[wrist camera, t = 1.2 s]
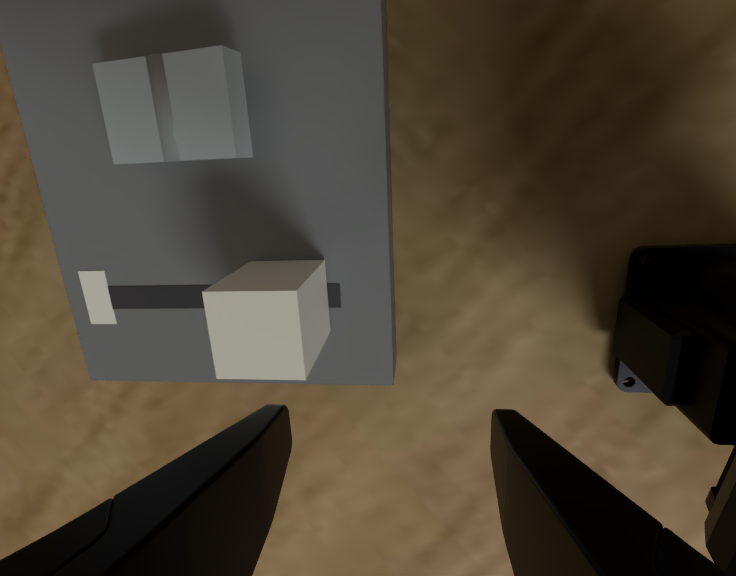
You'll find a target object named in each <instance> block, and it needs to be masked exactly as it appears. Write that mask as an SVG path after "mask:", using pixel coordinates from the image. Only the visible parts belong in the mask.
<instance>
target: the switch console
mask: <svg viewBox="0 0 736 576" xmlns="http://www.w3.org/2000/svg"><path fill="white" fill-rule="evenodd" d="M0 43H1V47H2V51H3V55H4V58H5V62H6V66H7V70H8V73H9V77H10V81H11V85H12V88H13V92H14V96H15V99H16V103H17V107H18V111H19V114H20V118H21V122H22V126H23V129H24V133H25V137H26V141H27V144H28V148H29V152H30V156H31V159H32V163H33V167H34V171H35V174H36V178H37V182H38V186H39V189H40V193H41V197H42V201H43V204H44V208H45V212H46V216H47V219H48V223H49V227H50V231H51V234H52V238H53V242H54V245H55V249H56V253H57V257H58V260H59V264H60V268H61V272H62V275H63V279H64V283H65V287H66V290H67V294H68V298H69V302H70V305H71V309H72V313H73V317H74V320H75V324H76V328H77V332H78V335H79V339H80V343H81V347H82V350H83V354H84V358H85V362H86V365H87V369H88V373H89V376H90V380H111V381H170V382H230V383H289V384H349V385H394V376H395V367H396V328H395V295H394V261H393V228H392V194H391V161H390V127H389V94H388V60H387V27H386V0H0ZM220 45H222V46H225V47H228V48H230V49H233V50H235V51H238V52H241V61H242V69H243V77H244V86H245V94H246V102H247V110H248V119H249V127H250V135H251V144H252V152H253V157H249V158H230V159H212V160H195V161H176V162H157V163H139V164H113V159H112V154H111V150H110V145H109V140H108V136H107V131H106V126H105V121H104V117H103V112H102V107H101V103H100V98H99V93H98V89H97V84H96V79H95V75H94V70H93V65H92V64H95V63H102V62H109V61H116V60H123V59H130V58H136V57H143V56H146V55H150V54H164V53H171V52H178V51H185V50H192V49H199V48H206V47H213V46H220ZM287 260H325V268H326V280H327V293H328V306H329V319H330V333H329V335H328V337H327V339H326V341H325V343H324V345H323V347H322V349H321V351H320V353H319V355H318V357H317V359H316V361H315V363H314V365H313V367H312V369H311V371H310V373H309V375H308V377H307V379H306V380H254V379H217V378H216V373H215V367H214V361H213V355H212V349H211V343H210V337H209V331H208V325H207V319H206V313H205V308H204V302H203V296H202V291H204V290H205V289H207V288H209V287H210V286H212V285H213V284H215V283H217V282H218V281H220V280H221V279H223V278H225V277H226V276H228V275H230V274H231V273H233V272H234V271H236V270H238V269H239V268H241V267H242V266H244V265H246V264H247V263H249V262H250V261H287Z"/></svg>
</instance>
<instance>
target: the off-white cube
mask: <svg viewBox="0 0 736 576" xmlns="http://www.w3.org/2000/svg"><path fill="white" fill-rule="evenodd" d="M202 296H203V302H204V308H205V313H206V319H207V325H208V331H209V337H210V343H211V349H212V355H213V361H214V367H215V373H216V378H217V379H254V380H306V379H307V377H308V375H309V373H310V371H311V369H312V367H313V365H314V363H315V361H316V359H317V357H318V355H319V353H320V351H321V349H322V347H323V345H324V343H325V341H326V339H327V337H328V335H329V333H330V319H329V306H328V293H327V280H326V268H325V260H287V261H250V262H249V263H247V264H246V265H244V266H242V267H241V268H239V269H238V270H236V271H234V272H233V273H231V274H230V275H228V276H226V277H225V278H223V279H221V280H220V281H218V282H217V283H215V284H213V285H212V286H210V287H209V288H207V289H205V290H204V291H202Z"/></svg>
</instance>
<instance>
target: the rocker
mask: <svg viewBox="0 0 736 576" xmlns="http://www.w3.org/2000/svg"><path fill="white" fill-rule="evenodd" d="M92 65H93V70H94V75H95V79H96V84H97V89H98V93H99V98H100V103H101V107H102V112H103V117H104V121H105V126H106V131H107V136H108V140H109V145H110V150H111V154H112V159H113V164H139V163H157V162H176V161H195V160H212V159H230V158H249V157H253V152H252V144H251V135H250V127H249V119H248V110H247V102H246V94H245V86H244V77H243V69H242V61H241V52H238V51H235V50H233V49H230V48H228V47H225V46H222V45H220V46H213V47H206V48H199V49H192V50H185V51H178V52H171V53H164V54H150V55H146V56H143V57H136V58H130V59H123V60H116V61H109V62H102V63H95V64H92Z"/></svg>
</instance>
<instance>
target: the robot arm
mask: <svg viewBox="0 0 736 576" xmlns="http://www.w3.org/2000/svg"><path fill="white" fill-rule="evenodd" d="M646 254H649V260H648V261H647V262H646V263H644V264H641V259H642V257H643V256H644V255H646ZM612 351H613V353H614V354H615V355H616V362H615V369H614V376H613V379H614V382H615V384H616V385H617V386H618V388H619V389H620V390H622V391H624V392H646V393H654V394H655V395H656V396H657V397H658V398H659V399H660V400H661V401H662V402H663V403H664V404H665V405H667V406H676V407H677V408H678V409H679V410H680V411H681V412H682V413H683V414H684V415H685V416H686V417H687V418H688V419H689V420H690V421H691V422H692V423H693V424H694V425H695V426H696V427H697V428H698V429H699V430H700V431H701V432H702V433H703V434H704V435H705V436H707V437H708V438H709V439H710V440H711V441H712V442H713V443H714V444H718V445H735V446H734V448H733V450H732V453H731V455H730V457H729V459H728V461H727V464H726V466H725V468H724V470H723V472H722V475H721V477H720V479H719V481H718V483H717V486H716V487H711V489H710V491H709V493H708V496H707V498H706V500H705V502H706V505H707V508H708V510H709V514H708V516H707V519H706V521H705V543H706V547H707V549H708V551H709V553H710V555H711V557H712V559H713V561H714V563H715V564H714V563H713V562H711V561H710V560H709V559H707V558H706V557H705V556H703V555H702V554H701V553H699V552H698V551H697V550H695V549H694V548H693V547H691V546H690V545H689V544H687V543H686V542H685V541H683V540H682V539H681V538H680V537H678V536H677V535H676V534H674V533H673V532H672V531H671V530H669V529H668V528H663V525H662V524H661V523H660V522H659V521H657V520H656V519H655V518H654V517H652V516H651V515H650V514H648V513H647V512H646V511H645V510H643V509H642V508H641V507H639V506H638V505H637V504H635V503H634V502H633V501H632V500H630V499H629V498H628V497H626V496H625V495H624V494H623V493H621V492H620V491H619V490H617V489H616V488H615V487H614V486H612V485H611V484H610V483H608V482H607V481H606V480H605V479H603V478H602V477H601V476H599V475H598V474H597V473H596V472H594V471H593V470H592V469H590V468H589V467H588V466H587V465H585V464H584V463H583V462H581V461H580V460H579V459H578V458H576V457H575V456H574V455H572V454H571V453H570V452H569V451H567V450H566V449H565V448H563V447H562V446H561V445H559V444H558V443H557V442H556V441H554V440H553V439H552V438H550V437H549V436H548V435H547V434H545V433H544V432H543V431H541V430H540V429H539V428H538V427H536V426H535V425H534V424H532V423H531V422H530V421H529V420H527V419H526V418H525V417H523V416H522V415H521V414H520V413H518V412H517V411H515V410H512V409H495V410H494V411H493V412H492V421H491V445H490V449H491V460H492V466H493V473H494V479H495V486H496V492H497V499H498V505H499V512H500V519H501V524H502V530H503V535H504V539H505V543H506V547H507V551H508V554H509V558H510V562H511V565H512V569H513V572H514V576H736V244H714V245H668V246H642V247H639V248H637V249H635V250H634V251H633V252H632V253H631V256H630V260H629V267H628V274H627V282H626V289H625V294H624V295H623V297H622V298H621V299H620V300H619V305H618V312H617V320H616V327H615V335H614V342H613V350H612ZM627 377H631V380H630V381H628V382H626V383H623V381H624V379H626V378H627ZM291 448H292V435H291V426H290V418H289V411H288V408H287V406H286V405H283V404H267V405H265V406H263V407H262V408H260V409H258V410H257V411H255V412H253V413H252V414H250V415H248V416H247V417H245V418H243V419H242V420H240V421H238V422H237V423H235V424H233V425H232V426H230V427H228V428H227V429H225V430H223V431H222V432H220V433H218V434H217V435H215V436H213V437H212V438H210V439H208V440H207V441H205V442H203V443H202V444H200V445H198V446H197V447H195V448H193V449H192V450H190V451H188V452H187V453H185V454H183V455H182V456H180V457H178V458H177V459H175V460H173V461H172V462H170V463H168V464H167V465H165V466H163V467H161V468H160V469H158V470H156V471H155V472H153V473H151V474H150V475H148V476H146V477H145V478H143V479H141V480H140V481H138V482H136V483H135V484H133V485H131V486H130V487H128V488H126V489H125V490H123V491H121V492H120V493H118V494H116V495H115V496H114V498H113V499H112V498H110V499H108V500H106V501H104V502H103V503H101V504H100V505H98V506H96V507H95V508H93V509H91V510H90V511H88V512H86V513H84V514H83V515H81V516H79V517H78V518H76V519H74V520H72V521H71V522H69V523H67V524H65V525H64V526H62V527H60V528H59V529H57V530H55V531H53V532H51V533H50V534H48V535H46V536H44V537H42V538H40V539H39V540H37V541H35V542H33V543H31V544H29V545H27V546H26V547H24V548H22V549H20V550H18V551H16V552H15V553H13V554H11V555H9V556H7V557H5V558H3V559H1V560H0V576H252V575H253V572H254V569H255V567H256V564H257V561H258V559H259V556H260V554H261V551H262V548H263V546H264V543H265V540H266V538H267V535H268V532H269V530H270V527H271V524H272V521H273V518H274V514H275V511H276V507H277V503H278V499H279V495H280V491H281V488H282V484H283V480H284V476H285V472H286V468H287V465H288V461H289V457H290V453H291Z"/></svg>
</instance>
